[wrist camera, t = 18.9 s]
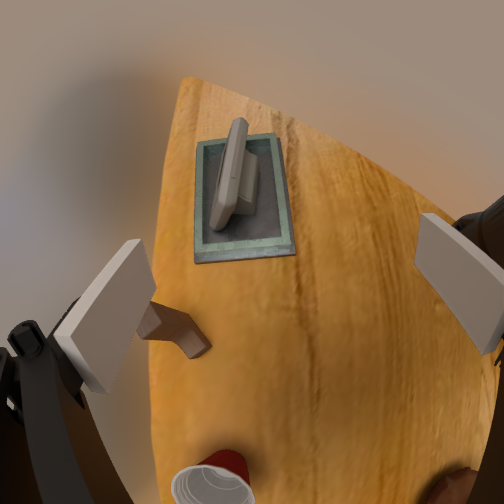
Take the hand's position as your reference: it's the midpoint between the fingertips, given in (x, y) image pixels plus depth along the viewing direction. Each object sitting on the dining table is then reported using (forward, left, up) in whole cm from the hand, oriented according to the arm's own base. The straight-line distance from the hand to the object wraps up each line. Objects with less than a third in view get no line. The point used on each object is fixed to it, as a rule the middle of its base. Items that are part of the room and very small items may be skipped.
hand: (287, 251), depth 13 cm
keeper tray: (+5, -21, -32) cm, 38 cm away
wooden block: (+14, +2, -32) cm, 35 cm away
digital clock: (+6, -21, -31) cm, 38 cm away
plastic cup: (+10, +24, -32) cm, 41 cm away
